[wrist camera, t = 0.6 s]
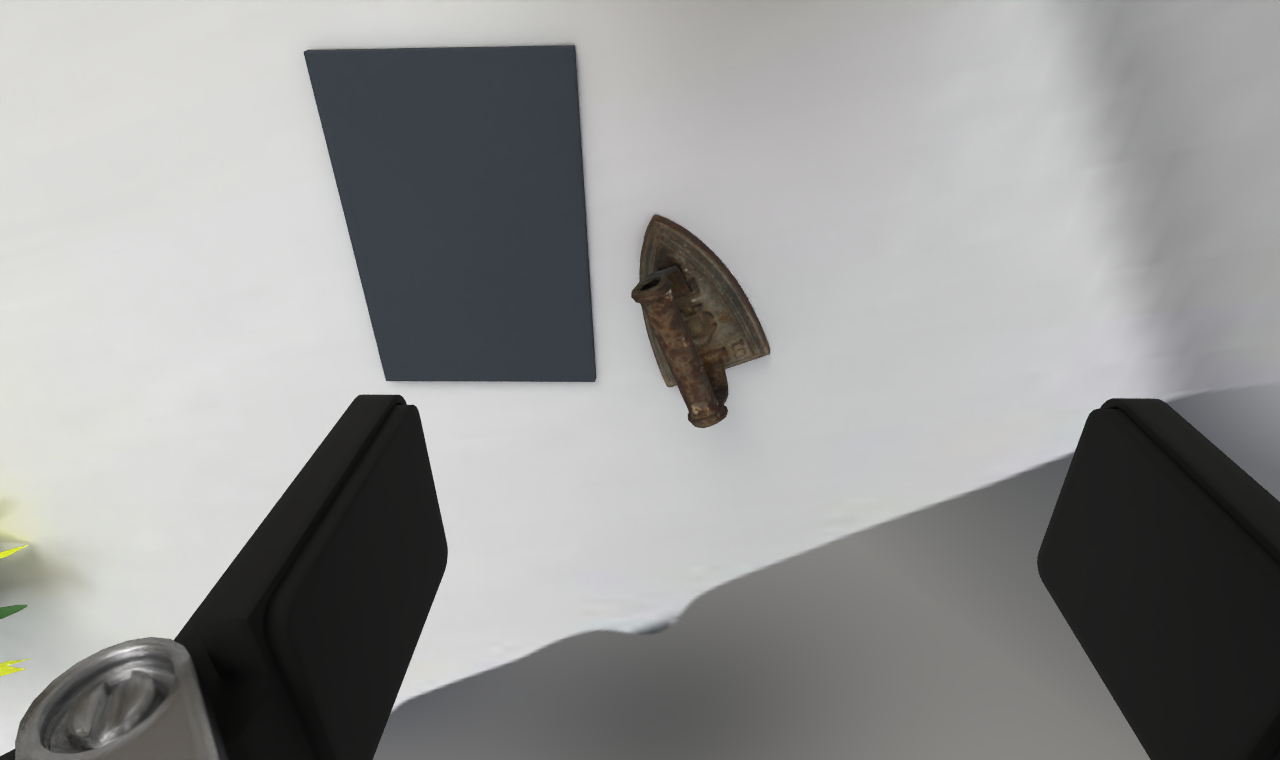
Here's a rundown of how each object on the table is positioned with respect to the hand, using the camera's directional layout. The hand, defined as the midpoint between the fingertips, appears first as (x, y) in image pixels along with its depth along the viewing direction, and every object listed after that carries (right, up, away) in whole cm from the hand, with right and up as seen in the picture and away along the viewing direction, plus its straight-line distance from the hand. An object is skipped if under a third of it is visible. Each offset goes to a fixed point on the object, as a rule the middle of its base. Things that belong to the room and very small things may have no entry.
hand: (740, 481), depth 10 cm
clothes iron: (+2, +7, +33) cm, 34 cm away
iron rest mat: (-12, +10, +31) cm, 35 cm away
